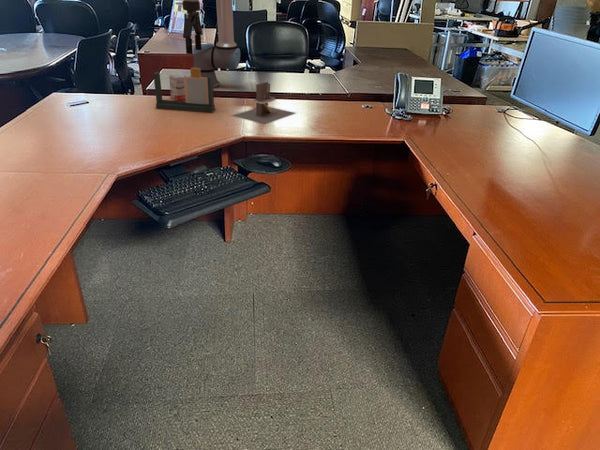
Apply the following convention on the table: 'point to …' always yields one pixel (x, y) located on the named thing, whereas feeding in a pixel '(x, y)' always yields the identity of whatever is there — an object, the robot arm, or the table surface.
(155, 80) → the window frame
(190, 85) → the window sash
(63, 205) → the table surface
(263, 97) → the architectural model
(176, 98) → the ink box
